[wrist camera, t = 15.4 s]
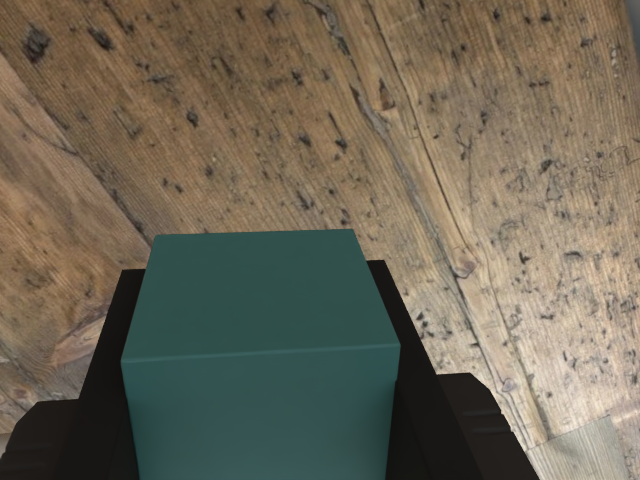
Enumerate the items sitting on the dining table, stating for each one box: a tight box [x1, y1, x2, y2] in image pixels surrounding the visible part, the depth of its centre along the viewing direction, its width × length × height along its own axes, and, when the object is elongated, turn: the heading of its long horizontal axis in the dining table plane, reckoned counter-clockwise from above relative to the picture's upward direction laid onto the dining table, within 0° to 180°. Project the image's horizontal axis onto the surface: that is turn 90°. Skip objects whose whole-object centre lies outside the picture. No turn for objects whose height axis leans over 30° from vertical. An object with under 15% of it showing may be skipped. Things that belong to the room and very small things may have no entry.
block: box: [121, 229, 401, 480], centre depth 12 cm, size 4×4×4 cm
